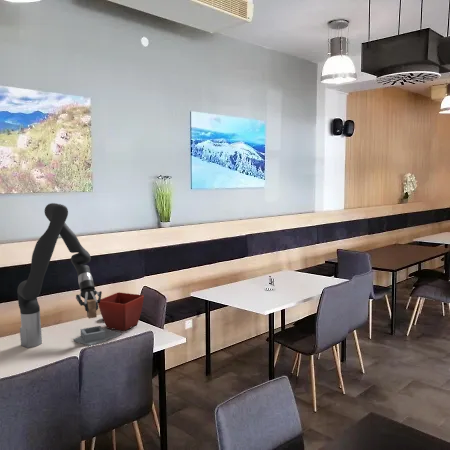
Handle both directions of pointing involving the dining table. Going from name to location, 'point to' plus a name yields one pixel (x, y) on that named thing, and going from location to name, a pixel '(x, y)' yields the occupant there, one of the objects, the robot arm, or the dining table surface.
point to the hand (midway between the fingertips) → (92, 310)
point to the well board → (107, 335)
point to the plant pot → (121, 310)
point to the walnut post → (91, 308)
